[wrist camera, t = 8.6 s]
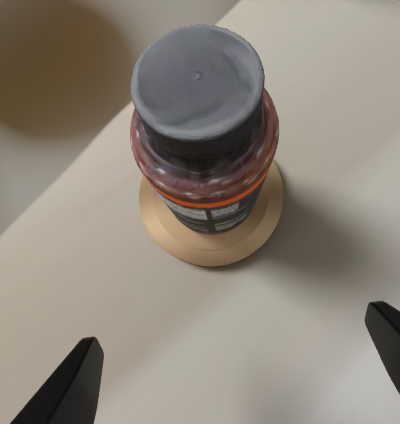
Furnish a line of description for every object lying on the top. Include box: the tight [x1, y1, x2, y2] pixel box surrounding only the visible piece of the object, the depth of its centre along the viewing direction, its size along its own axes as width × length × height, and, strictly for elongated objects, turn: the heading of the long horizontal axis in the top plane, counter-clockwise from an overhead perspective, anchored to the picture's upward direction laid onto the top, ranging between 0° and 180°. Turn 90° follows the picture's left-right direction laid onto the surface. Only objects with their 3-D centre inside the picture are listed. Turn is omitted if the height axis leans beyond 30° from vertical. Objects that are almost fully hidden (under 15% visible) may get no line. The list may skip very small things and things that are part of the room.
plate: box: [139, 161, 284, 266], centre depth 19 cm, size 10×10×1 cm
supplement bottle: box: [130, 24, 279, 235], centre depth 13 cm, size 6×6×11 cm
